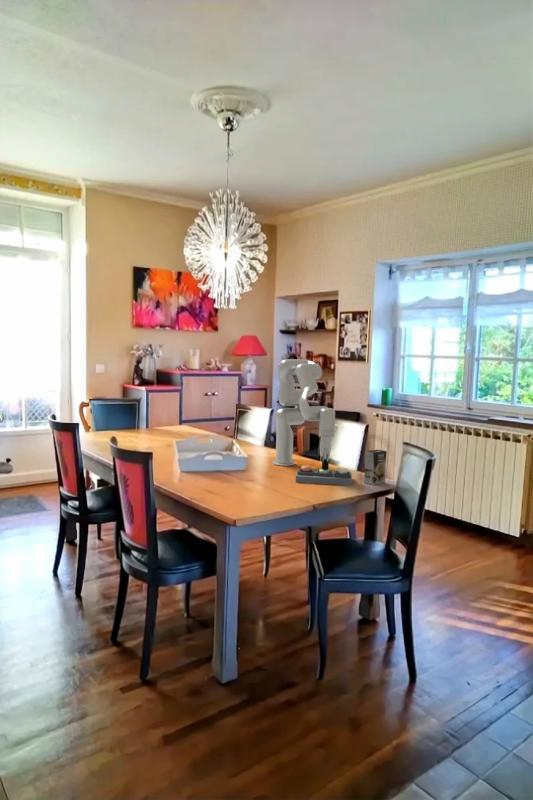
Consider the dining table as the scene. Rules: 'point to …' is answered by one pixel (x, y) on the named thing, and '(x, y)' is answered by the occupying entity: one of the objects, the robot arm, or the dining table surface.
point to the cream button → (342, 470)
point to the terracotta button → (306, 468)
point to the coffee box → (375, 467)
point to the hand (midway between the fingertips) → (325, 469)
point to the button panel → (324, 477)
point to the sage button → (323, 471)
